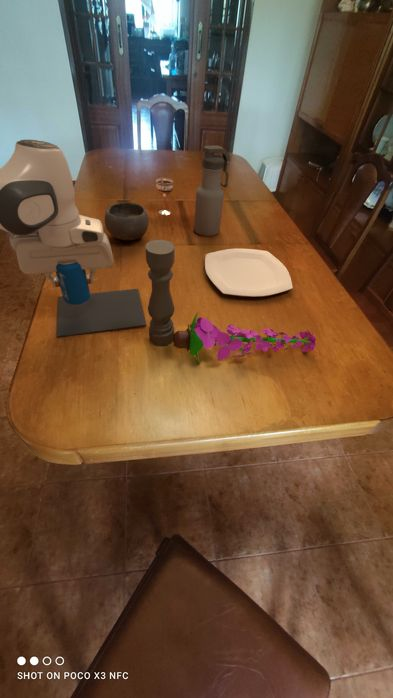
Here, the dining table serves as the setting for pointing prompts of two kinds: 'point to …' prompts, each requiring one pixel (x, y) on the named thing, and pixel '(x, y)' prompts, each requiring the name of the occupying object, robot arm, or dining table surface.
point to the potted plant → (234, 339)
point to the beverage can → (73, 283)
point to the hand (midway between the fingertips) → (74, 283)
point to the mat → (101, 313)
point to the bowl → (126, 220)
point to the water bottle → (211, 191)
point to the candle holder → (160, 291)
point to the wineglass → (164, 191)
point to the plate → (247, 272)
